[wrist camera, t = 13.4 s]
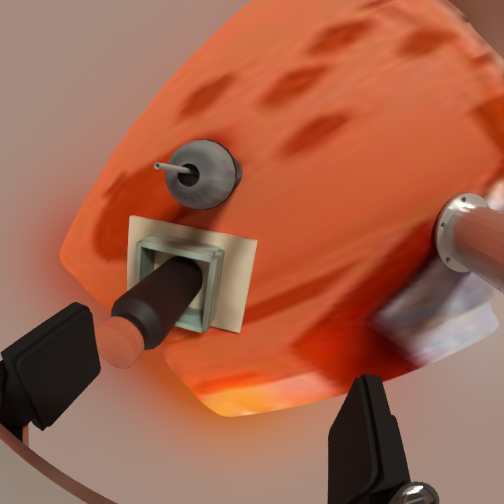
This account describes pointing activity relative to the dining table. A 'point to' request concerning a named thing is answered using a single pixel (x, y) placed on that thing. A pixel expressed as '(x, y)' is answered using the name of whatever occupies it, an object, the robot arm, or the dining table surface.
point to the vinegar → (148, 311)
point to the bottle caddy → (209, 261)
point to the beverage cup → (201, 174)
